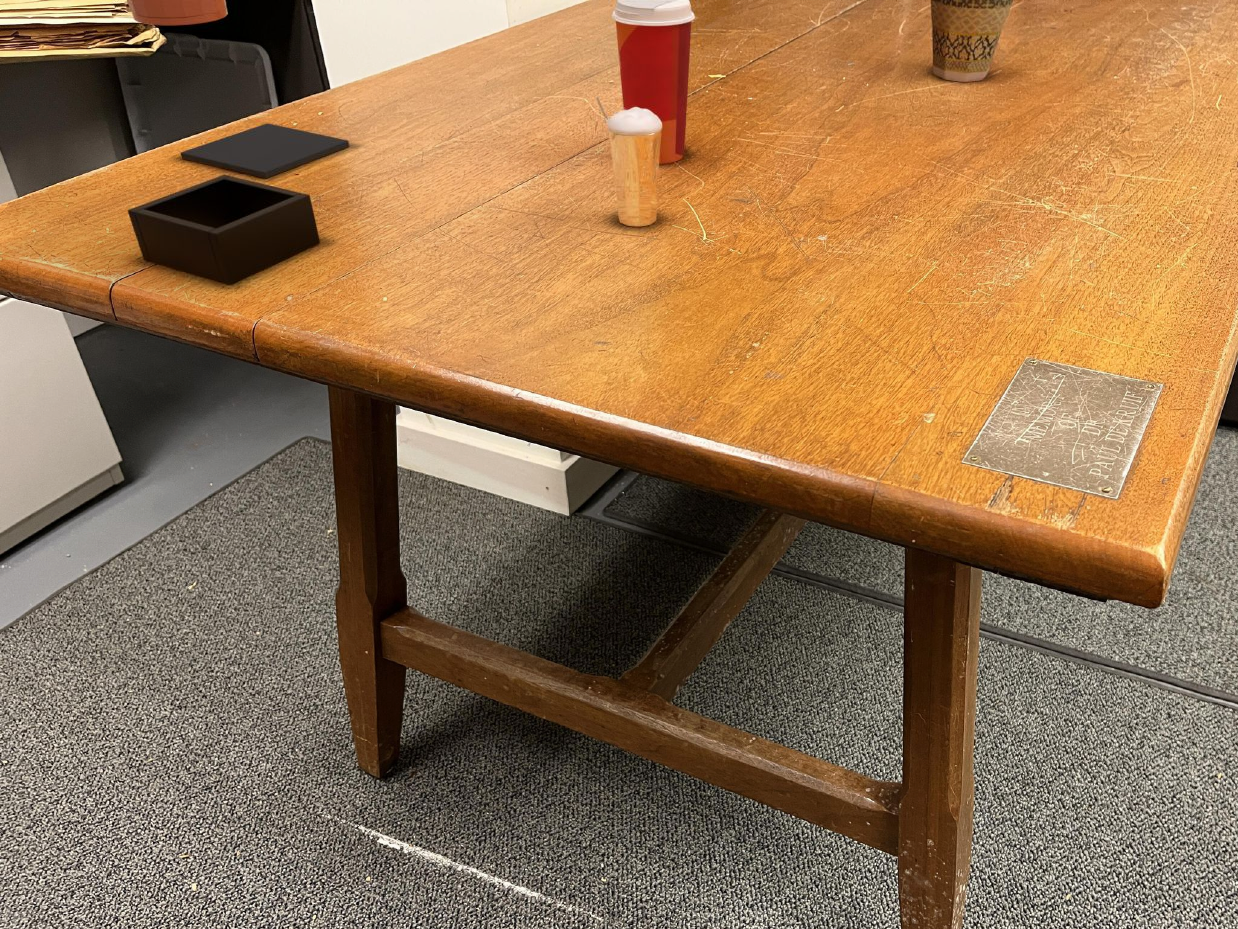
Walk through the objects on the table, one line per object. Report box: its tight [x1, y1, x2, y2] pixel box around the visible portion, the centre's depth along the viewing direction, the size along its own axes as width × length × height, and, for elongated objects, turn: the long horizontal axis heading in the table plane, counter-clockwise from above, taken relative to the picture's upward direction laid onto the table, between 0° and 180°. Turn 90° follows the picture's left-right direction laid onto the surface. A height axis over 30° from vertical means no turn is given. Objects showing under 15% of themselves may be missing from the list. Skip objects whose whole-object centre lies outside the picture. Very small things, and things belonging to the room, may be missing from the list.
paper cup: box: [611, 0, 696, 165], centre depth 101 cm, size 8×8×14 cm
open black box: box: [127, 174, 321, 286], centre depth 84 cm, size 9×9×4 cm
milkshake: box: [595, 96, 662, 228], centre depth 89 cm, size 5×5×10 cm
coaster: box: [180, 122, 350, 179], centre depth 104 cm, size 11×11×1 cm
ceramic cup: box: [930, 0, 1014, 83], centre depth 131 cm, size 13×10×10 cm
